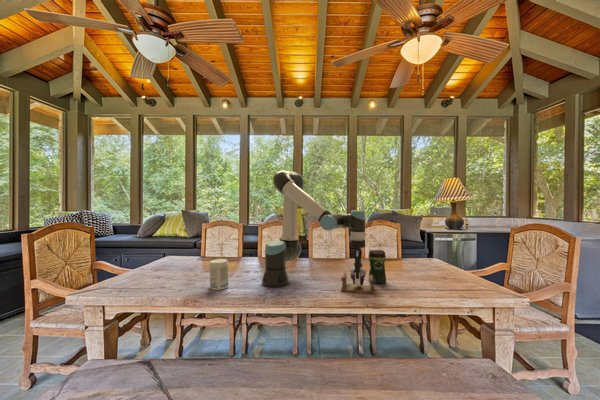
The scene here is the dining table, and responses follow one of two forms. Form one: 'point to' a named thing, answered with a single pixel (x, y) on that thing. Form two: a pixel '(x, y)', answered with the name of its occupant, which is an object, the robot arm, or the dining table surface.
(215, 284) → the supplement tub
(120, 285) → the dining table surface
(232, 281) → the dining table surface
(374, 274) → the coffee jar
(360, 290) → the holder
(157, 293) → the dining table surface
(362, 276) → the potion bottle
